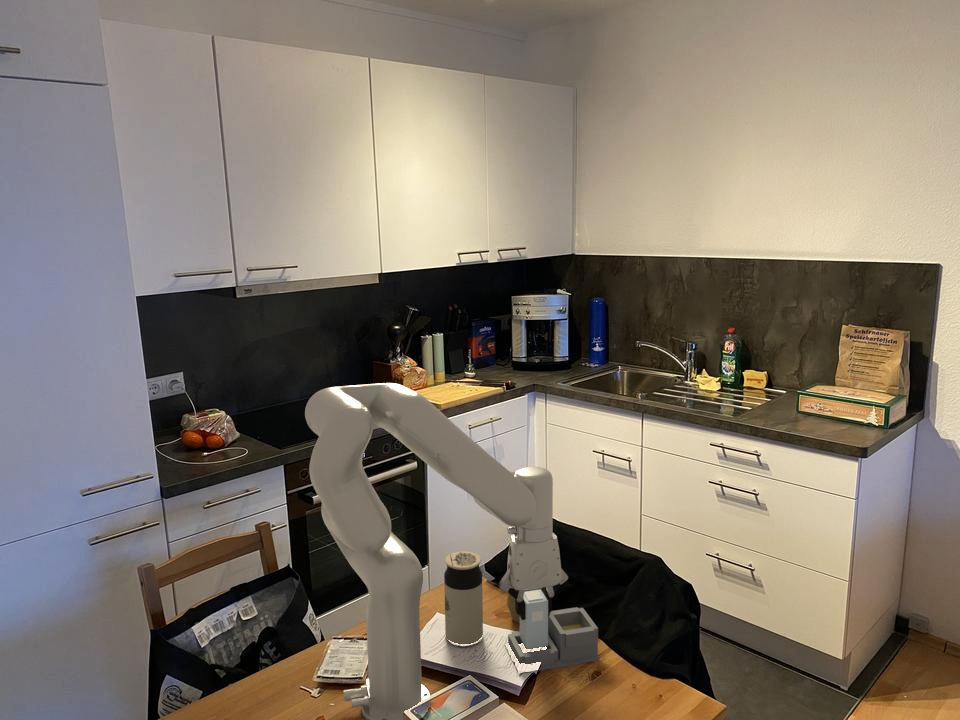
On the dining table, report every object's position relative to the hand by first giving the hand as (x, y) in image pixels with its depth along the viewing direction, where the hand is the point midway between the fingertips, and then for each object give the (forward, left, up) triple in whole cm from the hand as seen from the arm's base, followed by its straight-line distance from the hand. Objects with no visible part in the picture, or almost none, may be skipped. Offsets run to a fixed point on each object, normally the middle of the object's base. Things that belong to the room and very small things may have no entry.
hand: (533, 613), depth 143 cm
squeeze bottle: (+3, +14, -10) cm, 17 cm away
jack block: (+4, 0, -9) cm, 10 cm away
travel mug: (-12, +10, -10) cm, 18 cm away
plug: (0, 0, -6) cm, 6 cm away
